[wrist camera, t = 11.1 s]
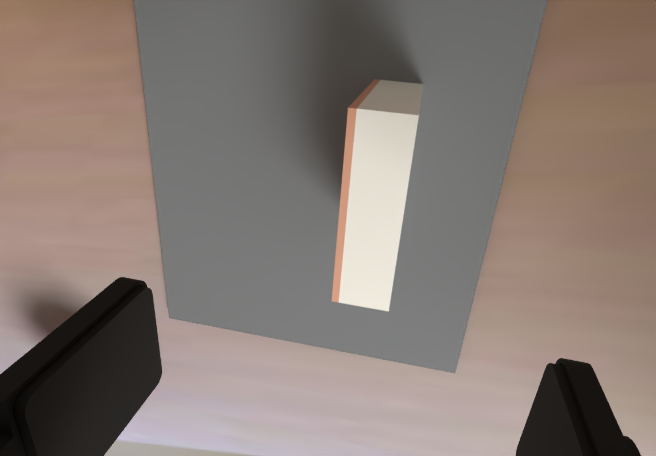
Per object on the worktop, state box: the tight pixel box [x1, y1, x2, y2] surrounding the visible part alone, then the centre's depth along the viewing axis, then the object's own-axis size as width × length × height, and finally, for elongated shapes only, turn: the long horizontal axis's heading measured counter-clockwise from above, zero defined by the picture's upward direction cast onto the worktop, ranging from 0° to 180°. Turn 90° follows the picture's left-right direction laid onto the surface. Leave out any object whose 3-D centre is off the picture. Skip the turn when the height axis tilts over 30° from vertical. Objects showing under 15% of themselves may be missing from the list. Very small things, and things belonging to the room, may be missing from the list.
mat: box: [134, 0, 547, 373], centre depth 25 cm, size 20×26×1 cm
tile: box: [332, 79, 423, 311], centre depth 20 cm, size 2×8×8 cm, turn 176°
